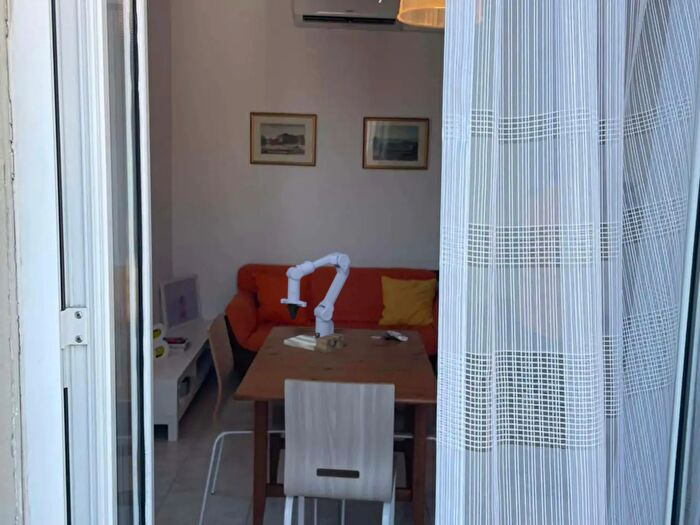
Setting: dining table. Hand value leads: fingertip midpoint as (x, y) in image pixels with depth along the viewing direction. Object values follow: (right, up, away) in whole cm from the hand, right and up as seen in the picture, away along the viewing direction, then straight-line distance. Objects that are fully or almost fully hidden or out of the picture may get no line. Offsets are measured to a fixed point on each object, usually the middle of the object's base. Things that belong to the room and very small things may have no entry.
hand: (293, 319), depth 297 cm
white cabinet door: (+10, -12, -8) cm, 18 cm away
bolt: (+16, -10, -12) cm, 22 cm away
